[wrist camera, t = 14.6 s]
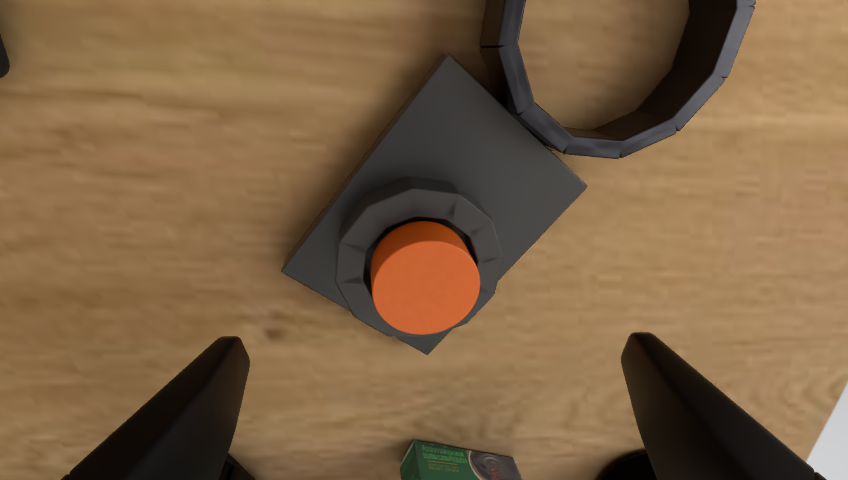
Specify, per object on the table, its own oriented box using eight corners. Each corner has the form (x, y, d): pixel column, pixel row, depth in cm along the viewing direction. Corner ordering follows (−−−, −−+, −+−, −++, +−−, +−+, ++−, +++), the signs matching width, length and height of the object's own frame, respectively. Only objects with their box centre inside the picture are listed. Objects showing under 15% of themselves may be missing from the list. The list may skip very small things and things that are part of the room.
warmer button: (426, 322, 20) (433, 351, 18) (350, 276, 18) (349, 302, 16) (488, 256, 19) (502, 278, 17) (413, 200, 17) (419, 219, 15)
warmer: (424, 341, 24) (432, 379, 21) (284, 260, 20) (273, 292, 17) (576, 179, 21) (609, 199, 18) (442, 52, 17) (458, 53, 15)
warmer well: (521, 178, 20) (542, 195, 18) (447, -50, 16) (461, -66, 14) (713, 91, 20) (759, 96, 18) (692, -169, 15) (749, -206, 13)
